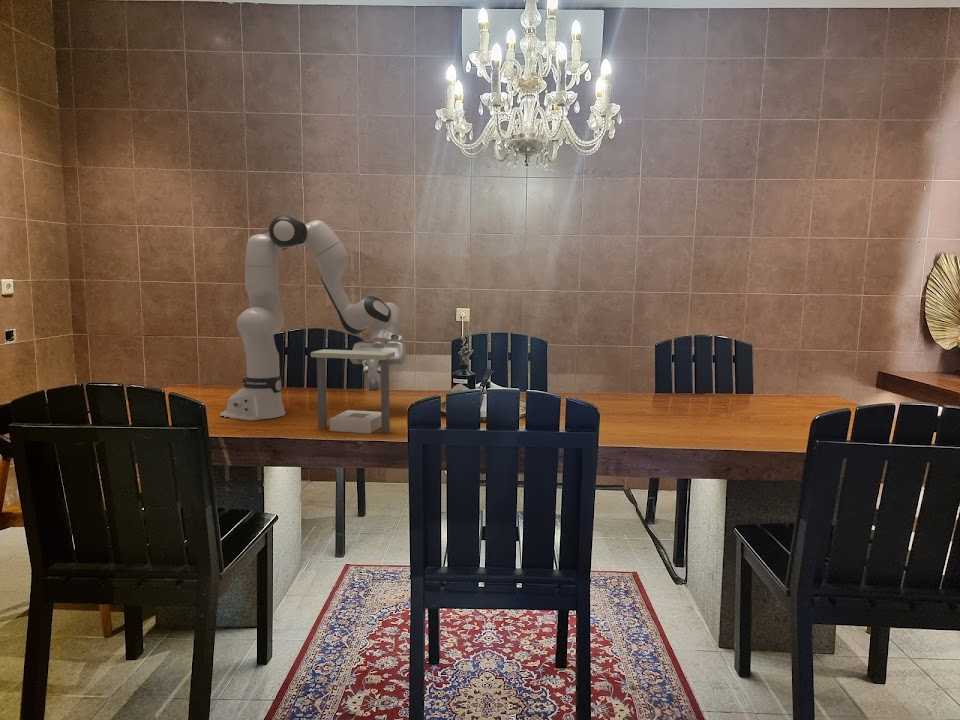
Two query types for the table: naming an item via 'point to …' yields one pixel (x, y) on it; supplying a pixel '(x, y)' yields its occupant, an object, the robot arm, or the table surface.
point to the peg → (373, 375)
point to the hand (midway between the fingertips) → (372, 372)
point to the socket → (356, 421)
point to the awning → (353, 355)
